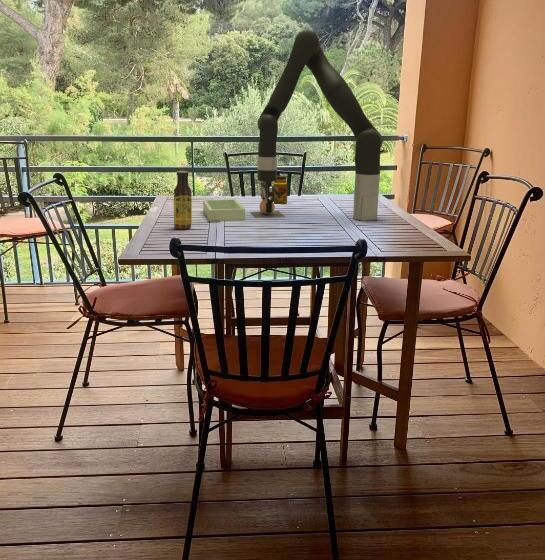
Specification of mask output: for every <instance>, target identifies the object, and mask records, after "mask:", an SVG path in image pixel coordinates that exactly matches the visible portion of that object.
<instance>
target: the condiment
mask: <svg viewBox="0 0 545 560" xmlns="http://www.w3.org/2000/svg"><path fill="white" fill-rule="evenodd" d="M272 184H273V185H272V186H273V187H274V204H281V205H291V203H290V202H288V182H287V176H286V175H277V180H276V181H273V183H272ZM287 203H288V204H287Z"/></svg>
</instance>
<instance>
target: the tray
mask: <svg viewBox="0 0 545 560" xmlns="http://www.w3.org/2000/svg"><path fill="white" fill-rule="evenodd" d="M202 209H203V210H202V211H203V213H204V215H205V217H206V219H207V220H208V222H209V223H221V222H227V221H246V208H245V207H244V206H243V205H242V204H241V203H240V202H239V200H237V199H235V198H234V199H233V198H230V199H228V198H226V199H204V200H202Z"/></svg>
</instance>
